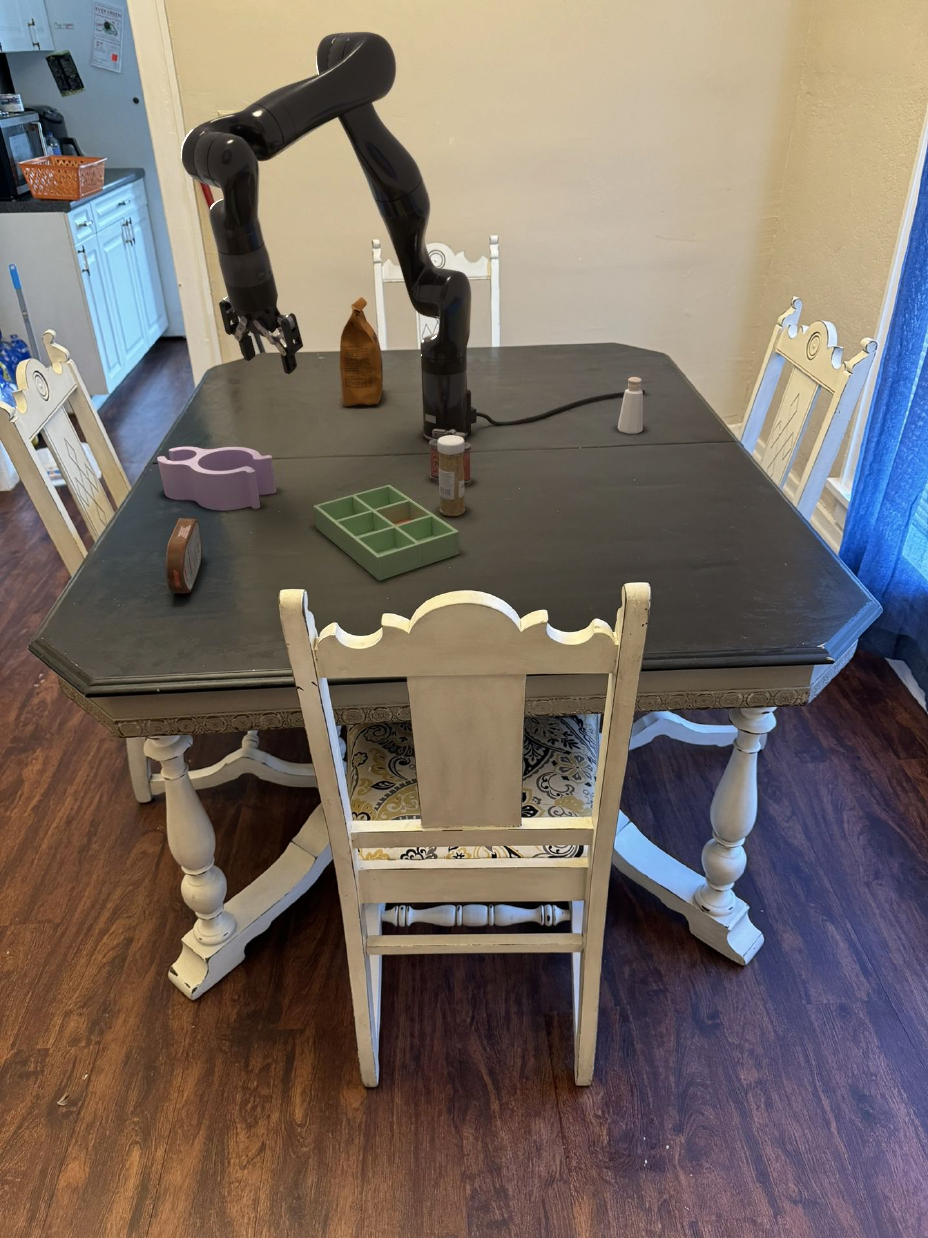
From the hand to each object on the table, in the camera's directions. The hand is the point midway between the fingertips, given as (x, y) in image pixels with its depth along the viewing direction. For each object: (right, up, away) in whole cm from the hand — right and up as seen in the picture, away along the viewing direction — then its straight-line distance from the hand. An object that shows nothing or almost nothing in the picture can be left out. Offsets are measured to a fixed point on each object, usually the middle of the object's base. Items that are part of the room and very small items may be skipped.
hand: (270, 364), depth 145 cm
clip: (-13, -20, +15) cm, 28 cm away
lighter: (+30, -17, +19) cm, 39 cm away
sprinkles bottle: (+30, -24, +8) cm, 39 cm away
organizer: (+19, -29, -1) cm, 35 cm away
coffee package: (+9, +9, +58) cm, 59 cm away
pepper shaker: (+68, -2, +41) cm, 79 cm away
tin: (-10, -36, -11) cm, 39 cm away
